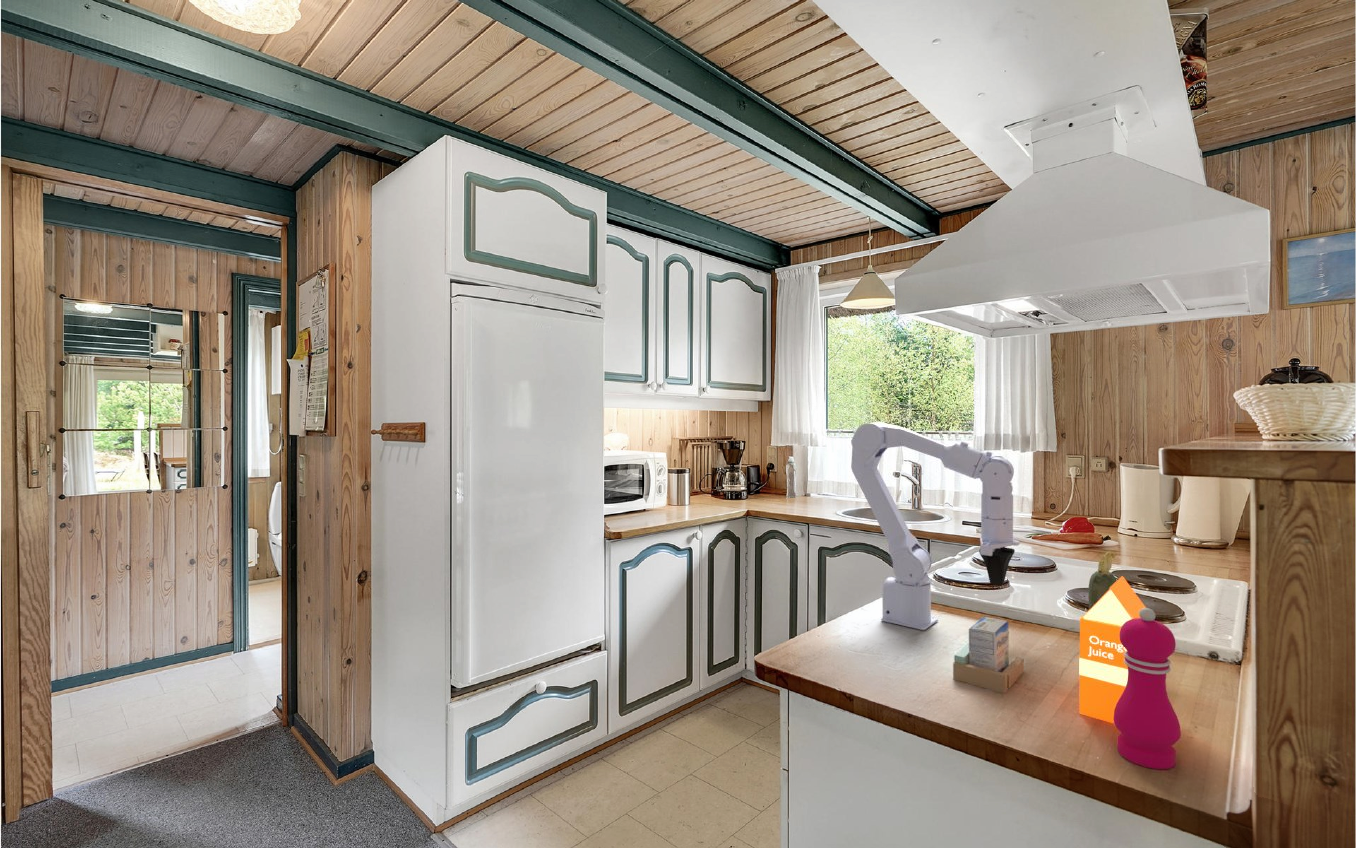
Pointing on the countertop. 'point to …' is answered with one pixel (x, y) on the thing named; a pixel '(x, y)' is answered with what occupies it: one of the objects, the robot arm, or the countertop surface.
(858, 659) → the countertop surface
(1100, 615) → the orange juice
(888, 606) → the robot arm
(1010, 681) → the board
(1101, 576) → the vegetable
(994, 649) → the medicine box
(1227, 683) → the countertop surface
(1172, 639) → the pepper mill
